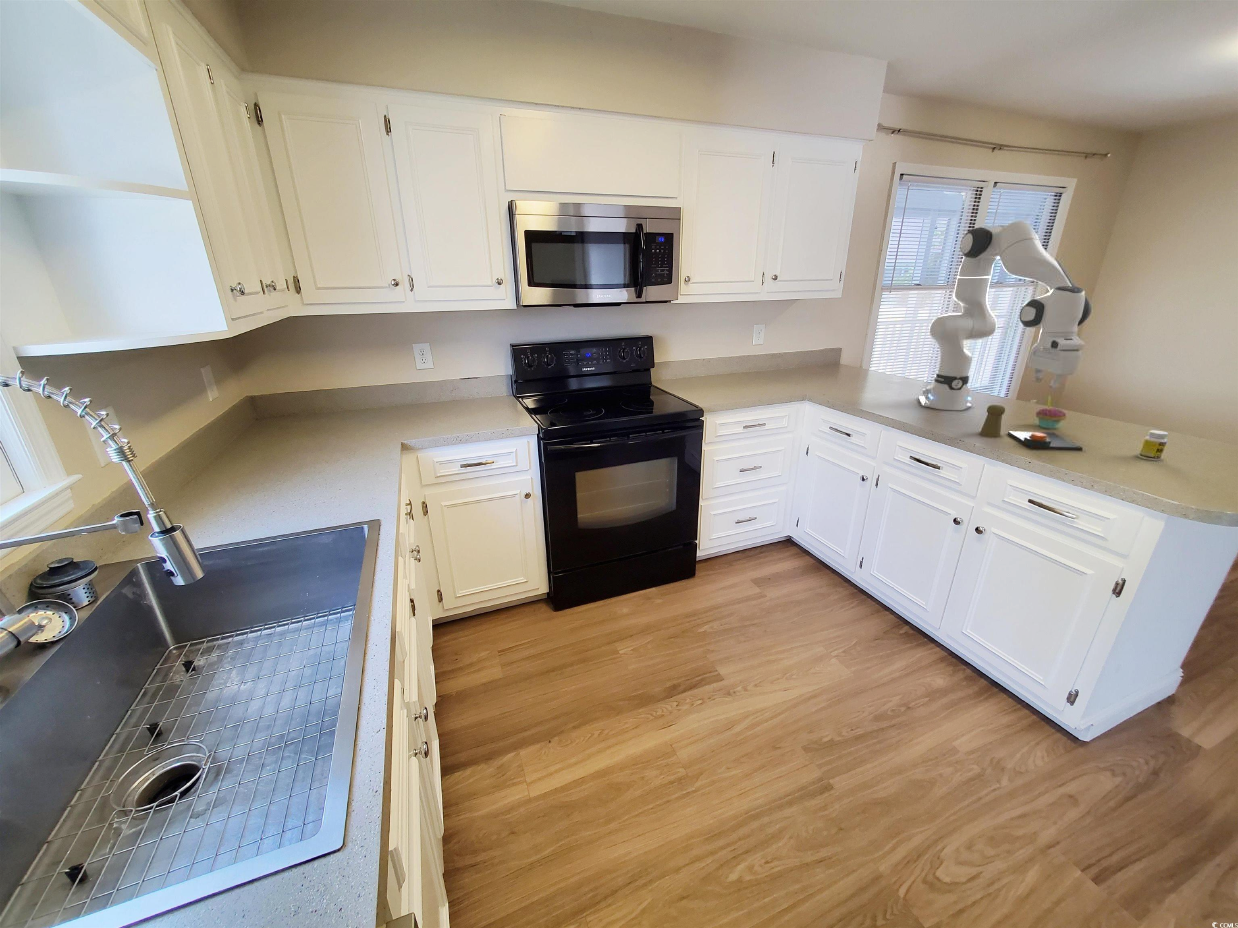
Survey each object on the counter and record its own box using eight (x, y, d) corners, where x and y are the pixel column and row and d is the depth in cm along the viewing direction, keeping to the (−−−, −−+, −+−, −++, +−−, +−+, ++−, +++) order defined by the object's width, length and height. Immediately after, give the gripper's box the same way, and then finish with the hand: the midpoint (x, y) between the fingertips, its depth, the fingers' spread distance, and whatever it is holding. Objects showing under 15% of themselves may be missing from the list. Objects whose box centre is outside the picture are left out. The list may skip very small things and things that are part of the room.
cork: (1003, 437, 174) (1011, 407, 170) (984, 437, 175) (991, 407, 171) (995, 432, 180) (1002, 403, 176) (976, 432, 181) (983, 403, 177)
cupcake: (1031, 427, 183) (1040, 396, 179) (1034, 422, 189) (1042, 391, 185) (1061, 431, 178) (1071, 399, 173) (1063, 426, 183) (1072, 394, 179)
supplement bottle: (1155, 461, 149) (1165, 435, 146) (1134, 457, 153) (1144, 431, 150) (1163, 459, 151) (1173, 432, 148) (1143, 454, 155) (1152, 428, 152)
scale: (1004, 434, 177) (1006, 426, 176) (1052, 435, 174) (1054, 427, 173) (1029, 449, 162) (1031, 441, 161) (1082, 451, 159) (1085, 442, 158)
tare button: (1027, 437, 166) (1028, 432, 165) (1041, 437, 165) (1042, 432, 165) (1034, 440, 162) (1035, 435, 162) (1048, 441, 162) (1049, 436, 161)
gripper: (1026, 338, 165) (1017, 379, 170) (1063, 344, 146) (1051, 390, 151) (1048, 337, 164) (1038, 379, 168) (1088, 344, 145) (1076, 390, 150)
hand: (1045, 384), depth 159 cm, fingers open, 8 cm apart
